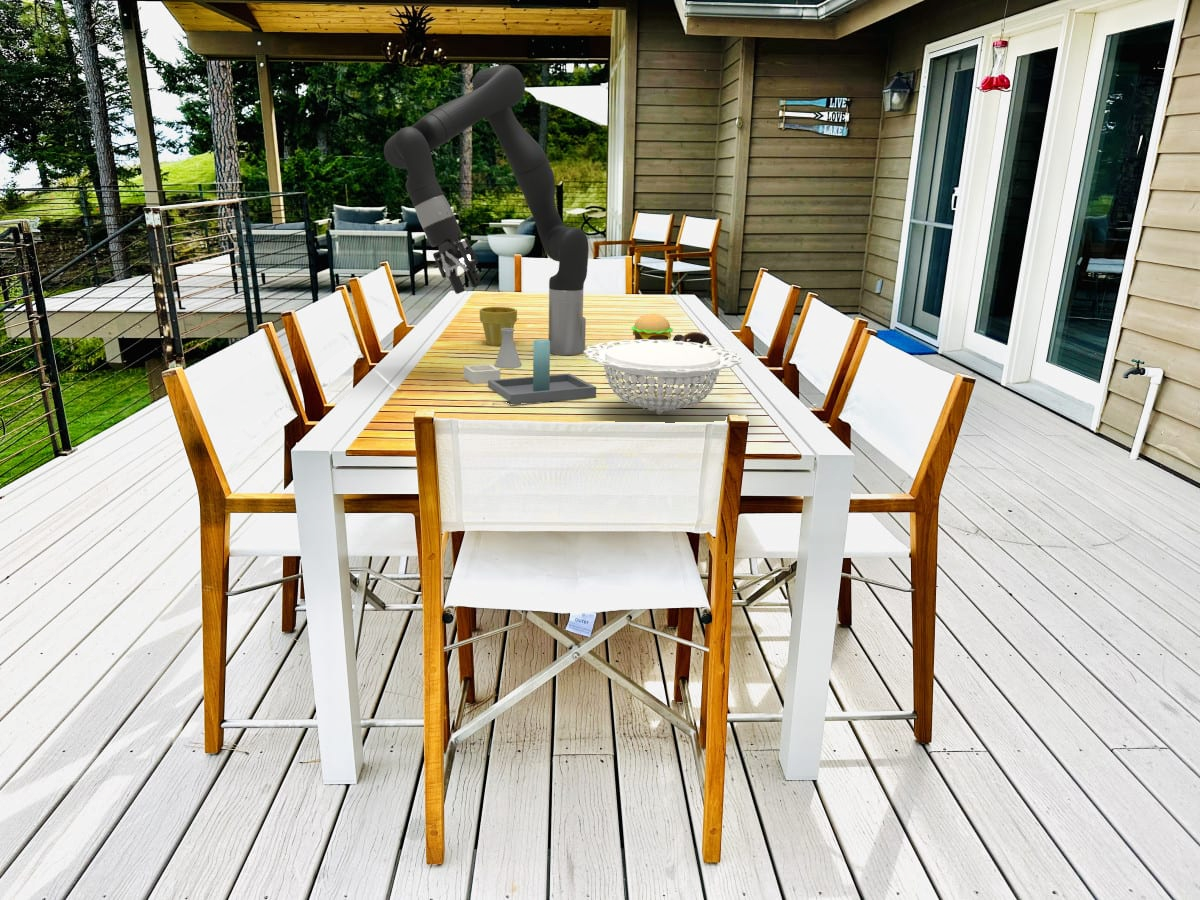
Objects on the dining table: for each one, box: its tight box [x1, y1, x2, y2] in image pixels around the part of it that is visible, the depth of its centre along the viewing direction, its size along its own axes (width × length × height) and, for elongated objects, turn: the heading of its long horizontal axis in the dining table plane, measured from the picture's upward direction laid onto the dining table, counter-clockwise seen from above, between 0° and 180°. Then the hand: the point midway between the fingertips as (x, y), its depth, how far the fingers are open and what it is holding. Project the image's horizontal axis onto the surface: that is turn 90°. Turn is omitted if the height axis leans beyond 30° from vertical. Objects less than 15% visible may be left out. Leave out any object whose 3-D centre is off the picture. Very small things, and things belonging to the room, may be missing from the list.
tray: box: [487, 373, 597, 405], centre depth 188 cm, size 20×14×2 cm
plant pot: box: [479, 306, 518, 346], centre depth 240 cm, size 10×10×10 cm
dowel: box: [532, 338, 551, 391], centre depth 187 cm, size 4×4×11 cm
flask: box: [493, 328, 523, 370], centre depth 210 cm, size 7×7×10 cm
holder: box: [462, 363, 501, 385], centre depth 196 cm, size 7×7×4 cm
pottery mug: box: [672, 331, 712, 348], centre depth 229 cm, size 12×10×8 cm
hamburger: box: [631, 313, 674, 343], centre depth 247 cm, size 12×12×9 cm
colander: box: [583, 339, 743, 415], centre depth 173 cm, size 32×32×13 cm
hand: (468, 289), depth 192 cm, fingers open, 8 cm apart
